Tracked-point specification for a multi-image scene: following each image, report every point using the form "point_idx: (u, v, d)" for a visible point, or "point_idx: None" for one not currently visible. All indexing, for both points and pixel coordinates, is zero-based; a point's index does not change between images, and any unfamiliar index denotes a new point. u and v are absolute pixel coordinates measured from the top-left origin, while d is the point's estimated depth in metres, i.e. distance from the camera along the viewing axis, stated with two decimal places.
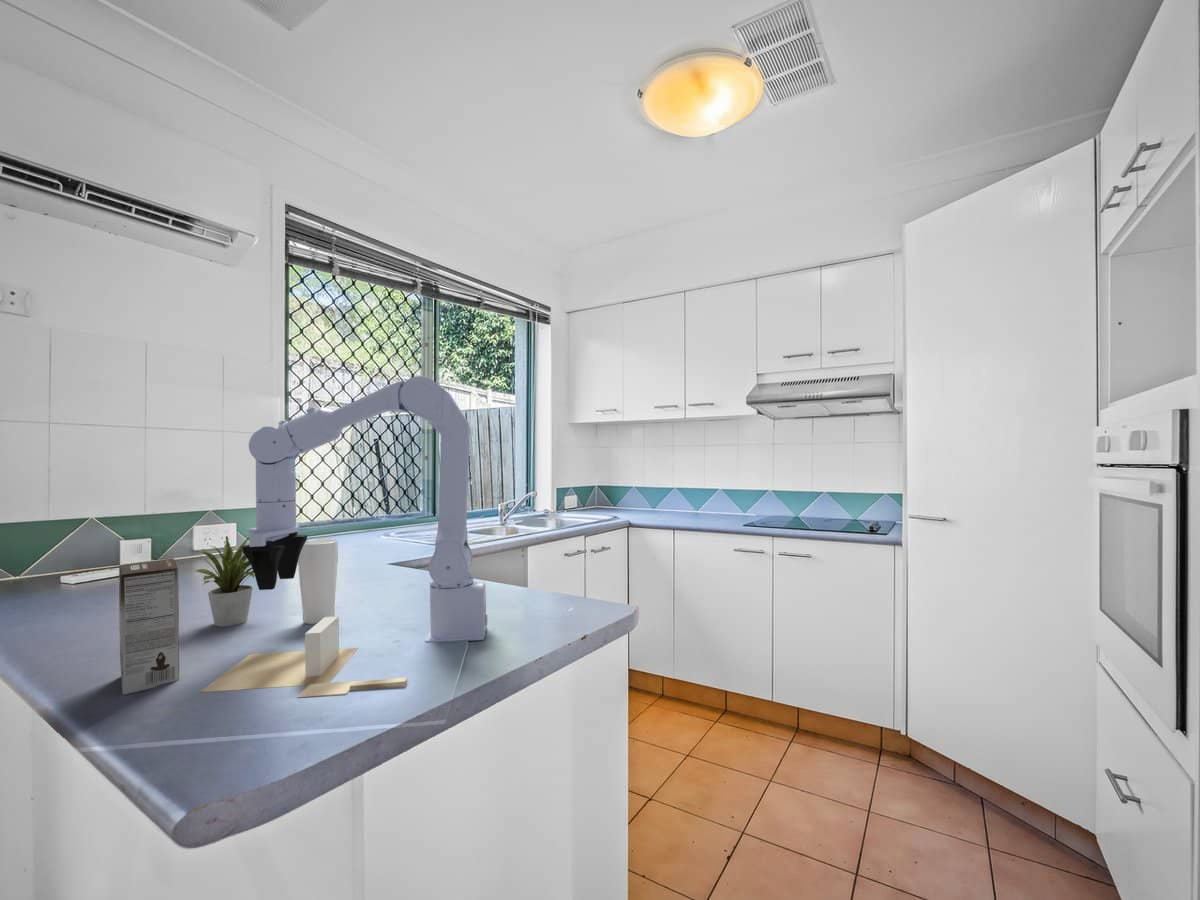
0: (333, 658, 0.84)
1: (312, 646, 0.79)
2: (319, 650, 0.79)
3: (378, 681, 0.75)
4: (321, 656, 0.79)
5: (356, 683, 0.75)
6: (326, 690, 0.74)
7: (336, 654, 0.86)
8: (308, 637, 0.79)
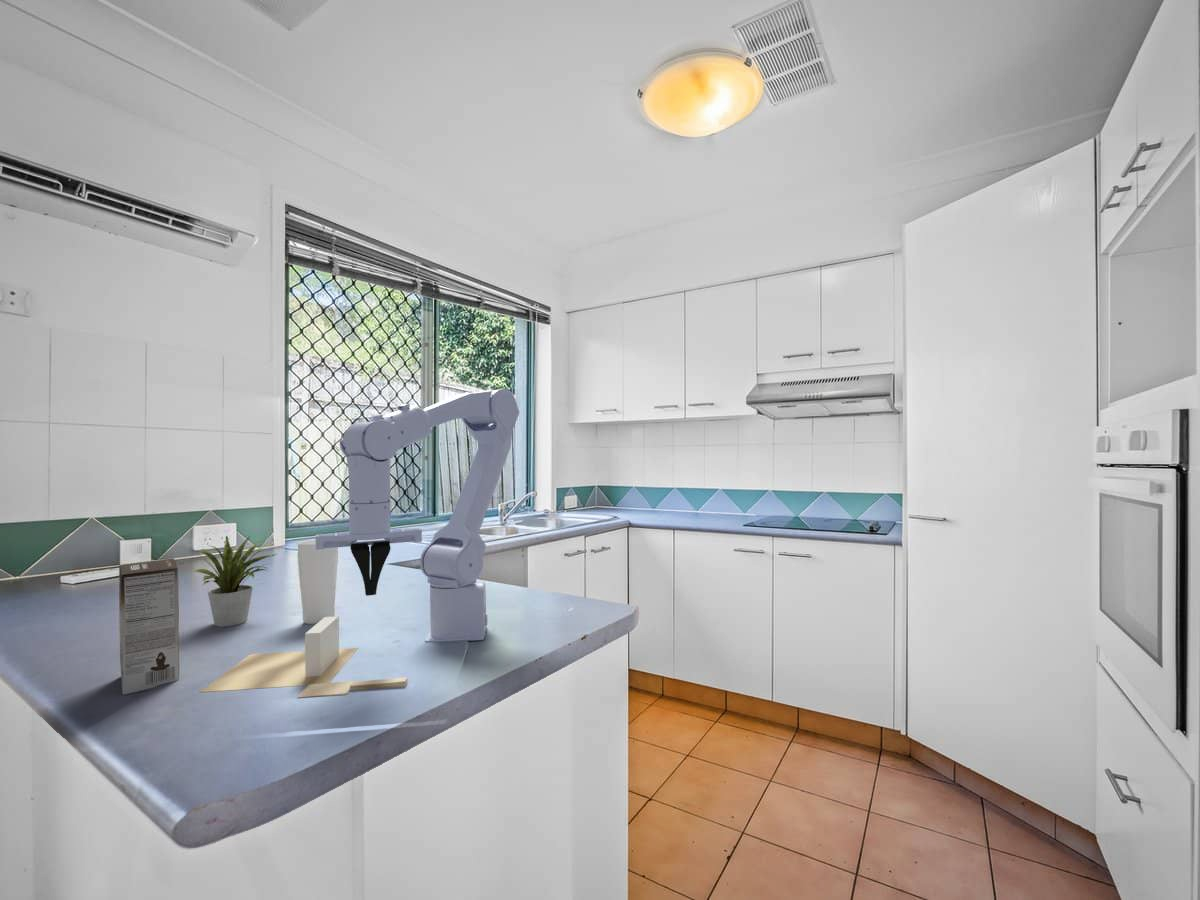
0: (333, 658, 0.84)
1: (312, 646, 0.79)
2: (319, 650, 0.79)
3: (378, 681, 0.75)
4: (321, 656, 0.79)
5: (356, 683, 0.75)
6: (326, 690, 0.74)
7: (336, 654, 0.86)
8: (308, 637, 0.79)
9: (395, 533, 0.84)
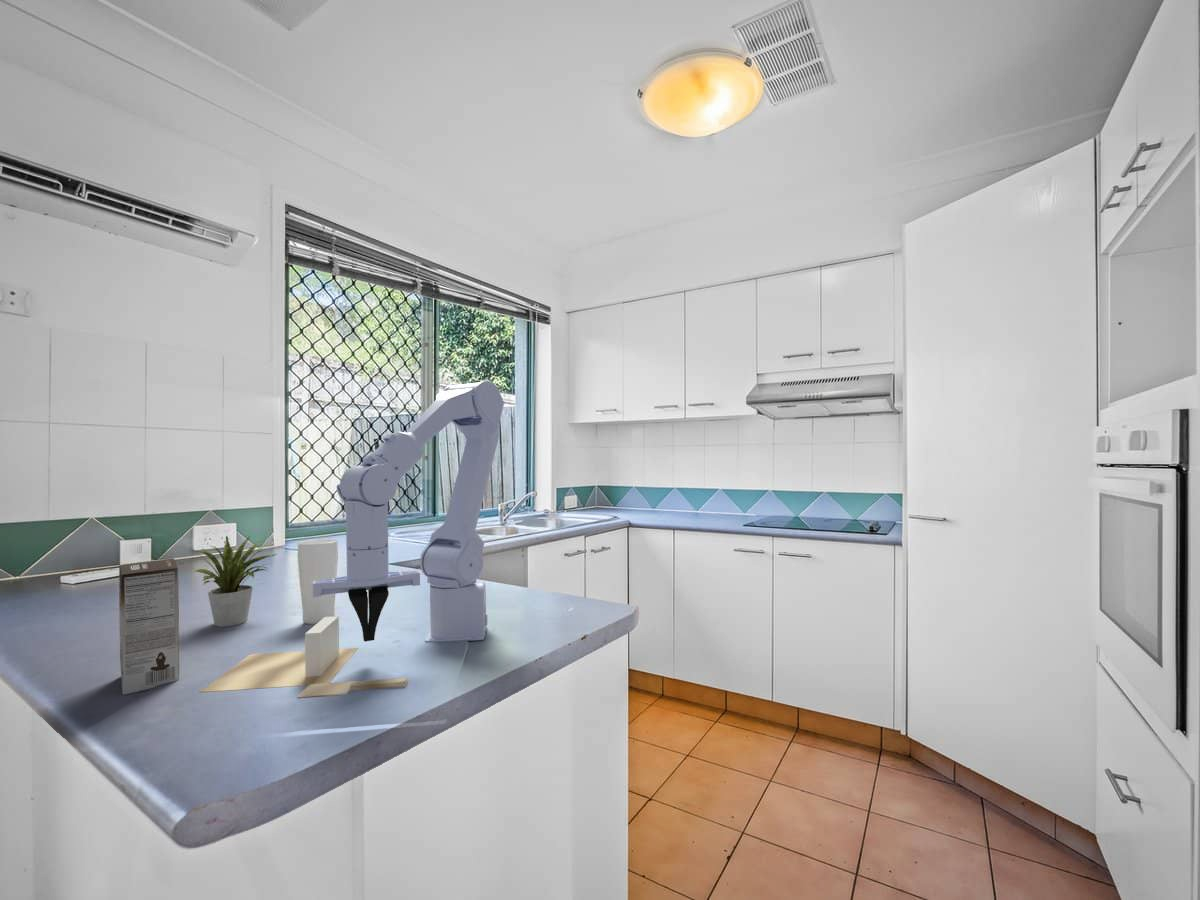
0: (333, 658, 0.84)
1: (312, 646, 0.79)
2: (319, 650, 0.79)
3: (378, 681, 0.75)
4: (321, 656, 0.79)
5: (356, 683, 0.75)
6: (326, 690, 0.74)
7: (336, 654, 0.86)
8: (308, 637, 0.79)
9: (393, 578, 0.83)
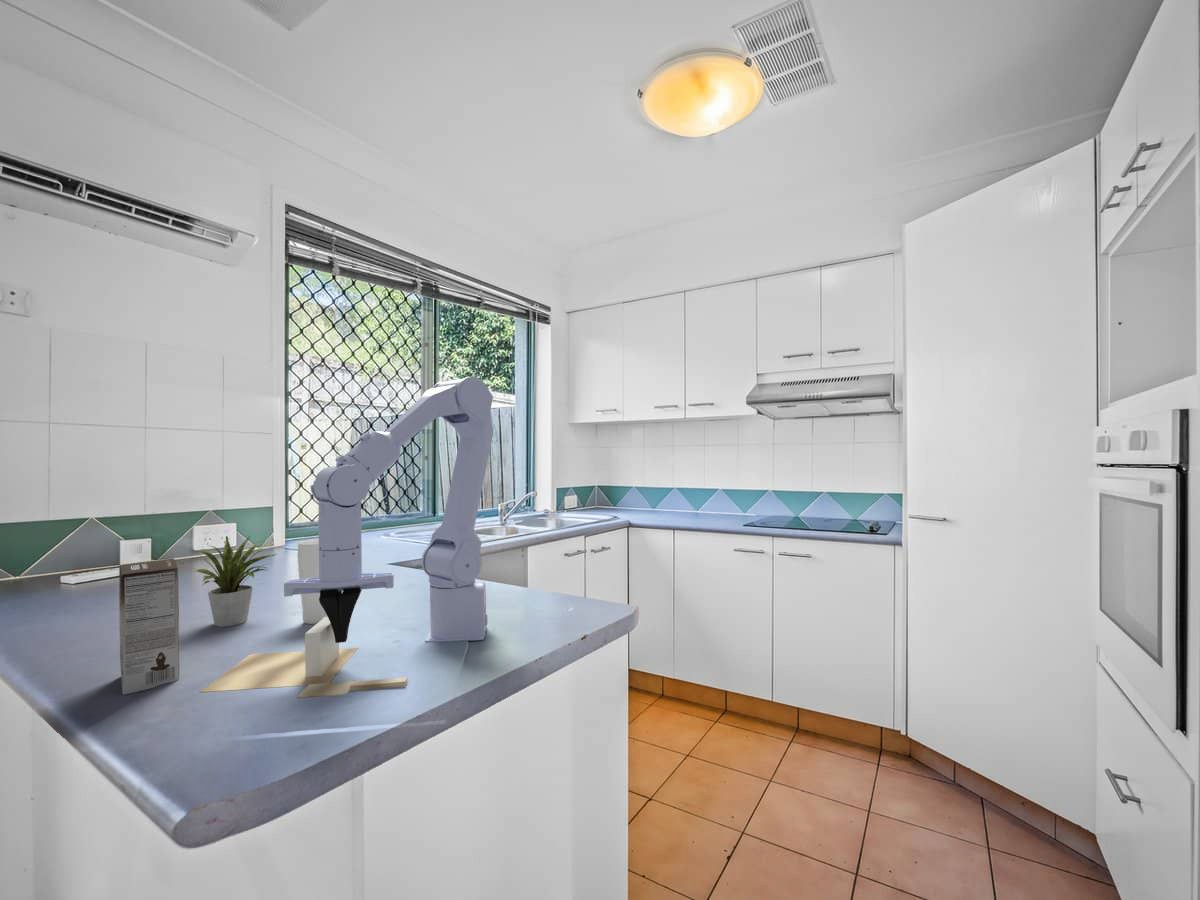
0: (333, 658, 0.84)
1: (312, 646, 0.79)
2: (319, 650, 0.79)
3: (378, 681, 0.75)
4: (321, 656, 0.79)
5: (356, 683, 0.75)
6: (326, 690, 0.74)
7: (336, 654, 0.86)
8: (308, 637, 0.79)
9: (364, 580, 0.82)
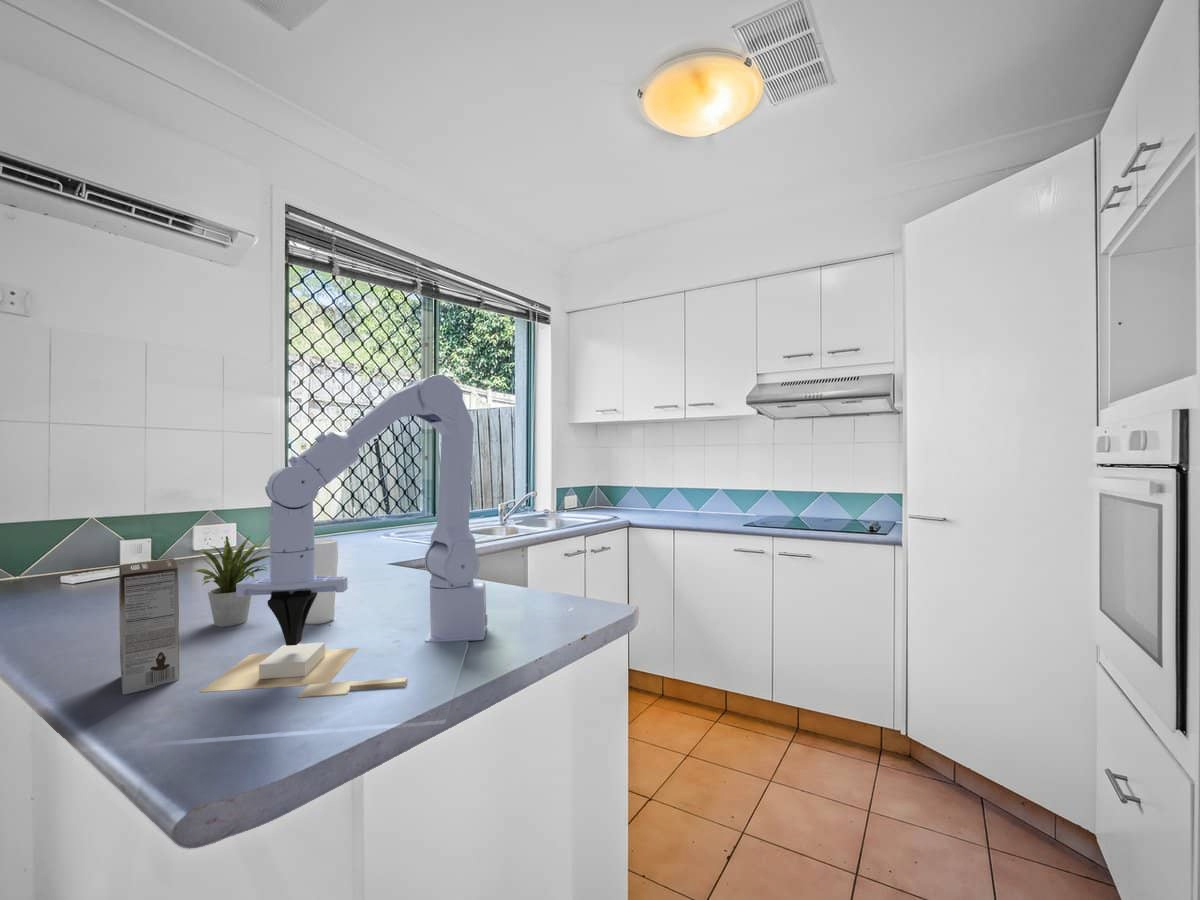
0: (316, 648, 0.84)
1: (273, 671, 0.78)
2: (278, 663, 0.78)
3: (378, 681, 0.75)
4: (287, 661, 0.79)
5: (356, 683, 0.75)
6: (326, 690, 0.74)
7: (319, 645, 0.85)
8: (263, 675, 0.78)
9: (312, 583, 0.81)
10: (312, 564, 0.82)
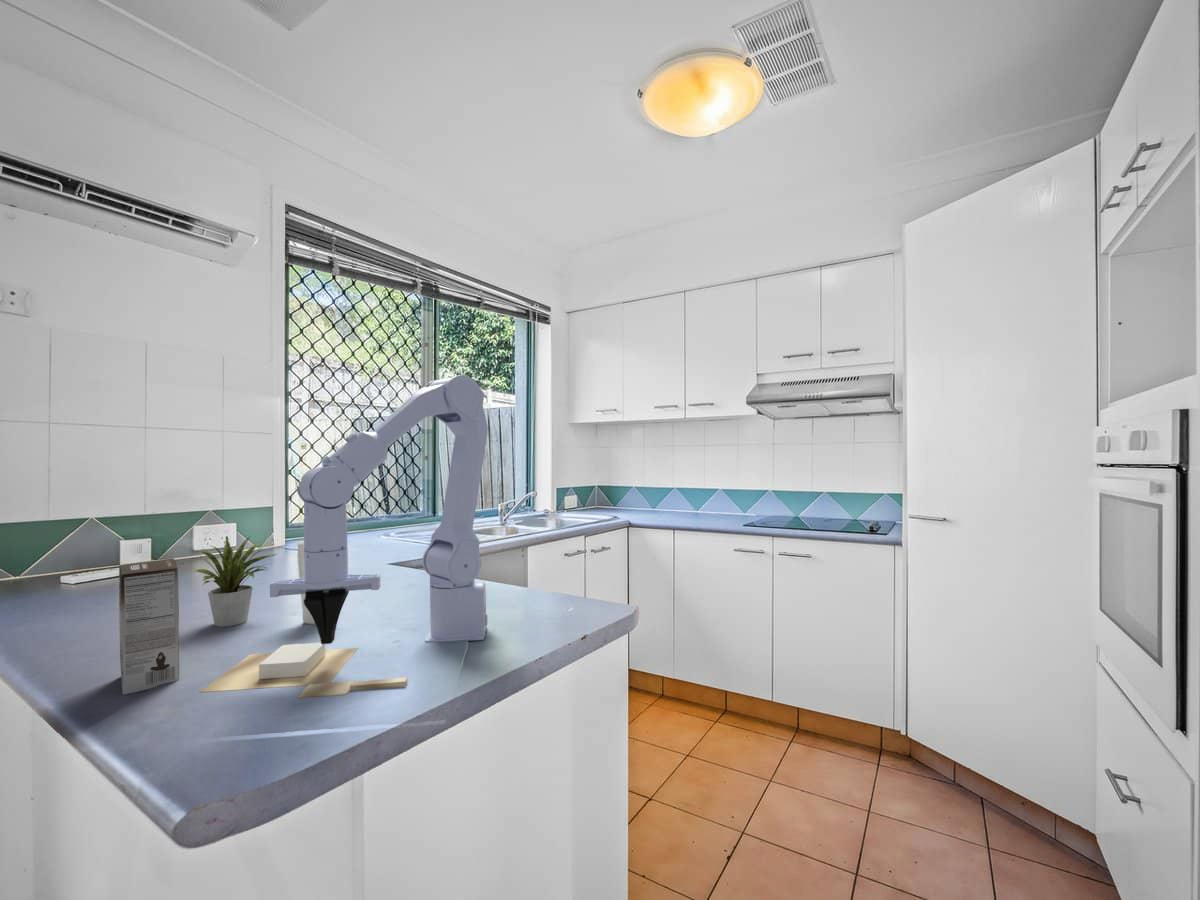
0: (316, 648, 0.84)
1: (273, 671, 0.78)
2: (278, 663, 0.78)
3: (378, 681, 0.75)
4: (287, 661, 0.79)
5: (356, 683, 0.75)
6: (326, 690, 0.74)
7: (319, 645, 0.85)
8: (263, 675, 0.78)
9: (348, 581, 0.82)
10: (346, 563, 0.83)
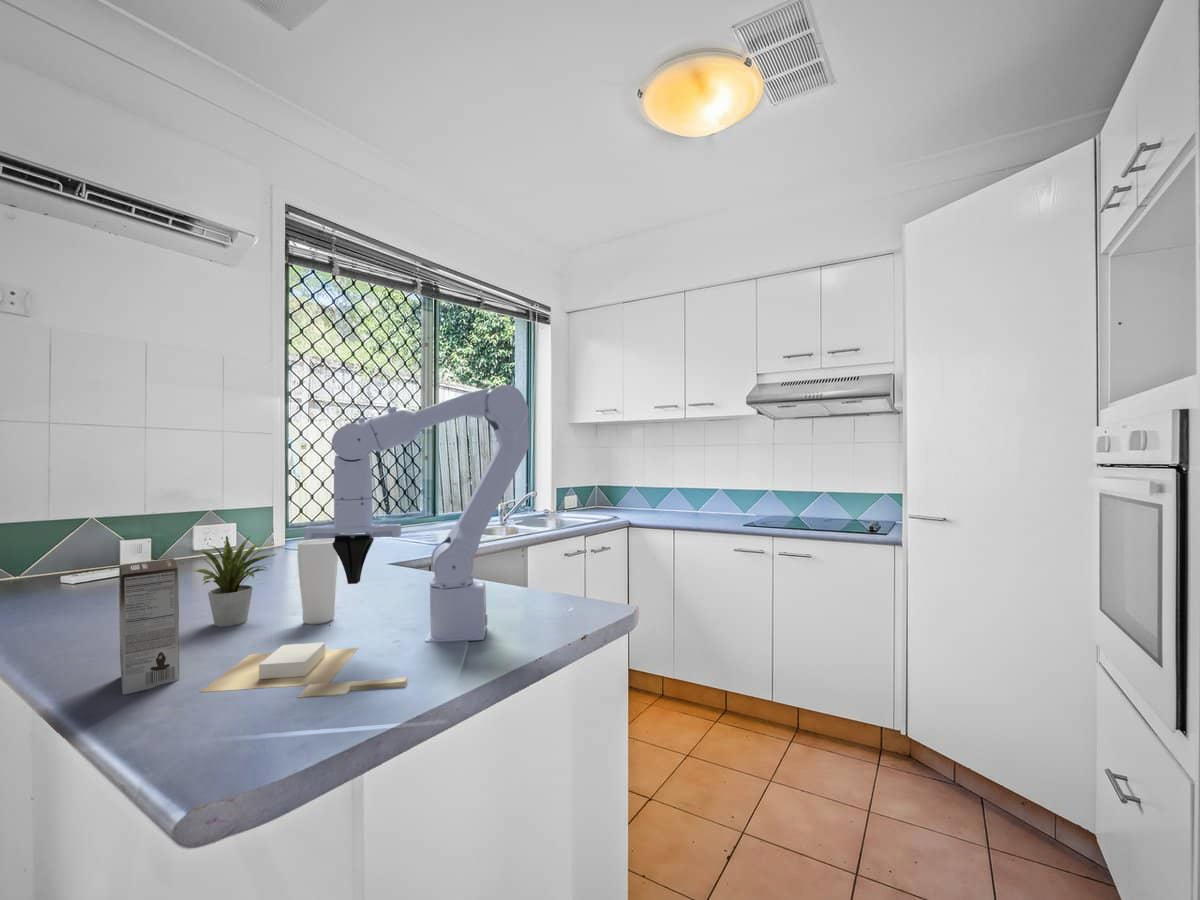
0: (316, 648, 0.84)
1: (273, 671, 0.78)
2: (278, 663, 0.78)
3: (378, 681, 0.75)
4: (287, 661, 0.79)
5: (356, 683, 0.75)
6: (326, 690, 0.74)
7: (319, 645, 0.85)
8: (263, 675, 0.78)
9: (371, 528, 0.90)
10: (371, 512, 0.92)
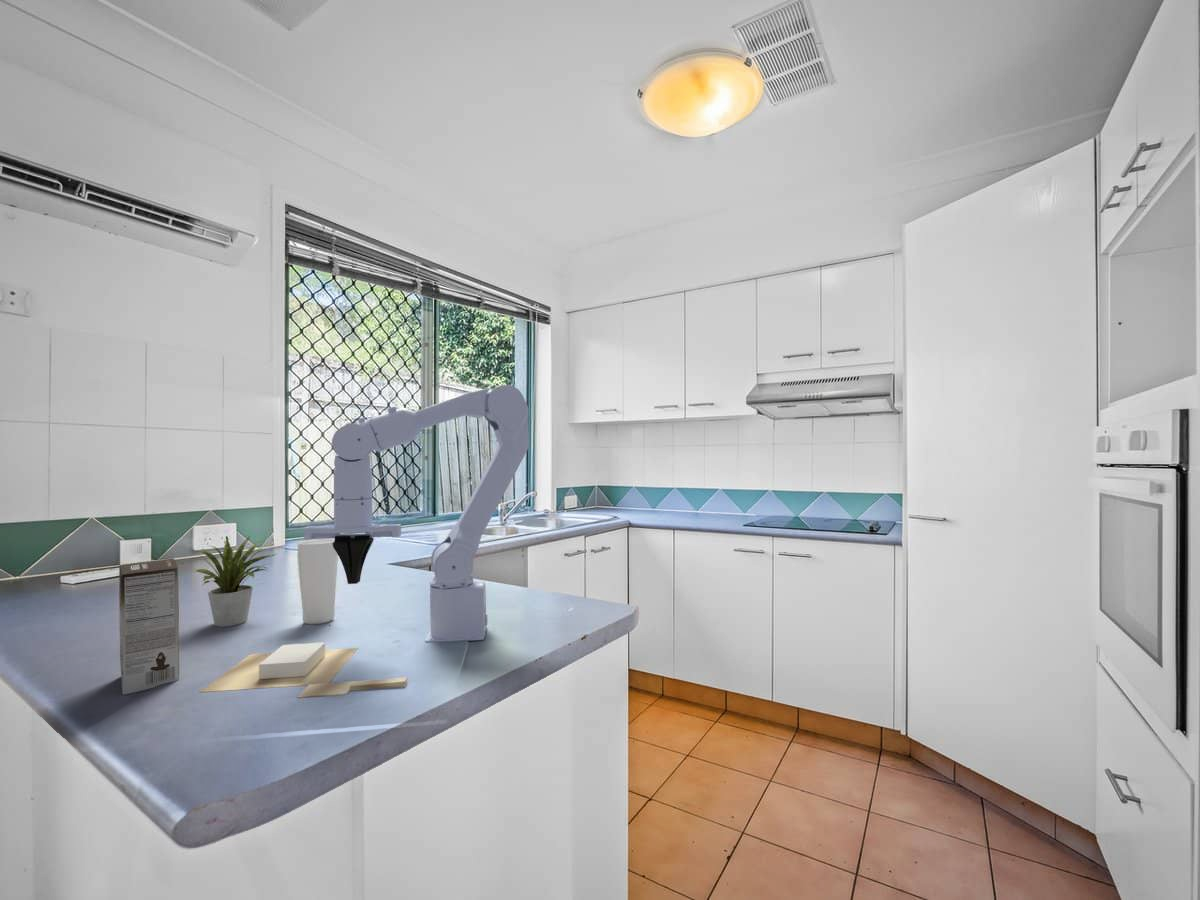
0: (316, 648, 0.84)
1: (273, 671, 0.78)
2: (278, 663, 0.78)
3: (378, 681, 0.75)
4: (287, 661, 0.79)
5: (356, 683, 0.75)
6: (326, 690, 0.74)
7: (319, 645, 0.85)
8: (263, 675, 0.78)
9: (371, 528, 0.90)
10: (371, 512, 0.92)
